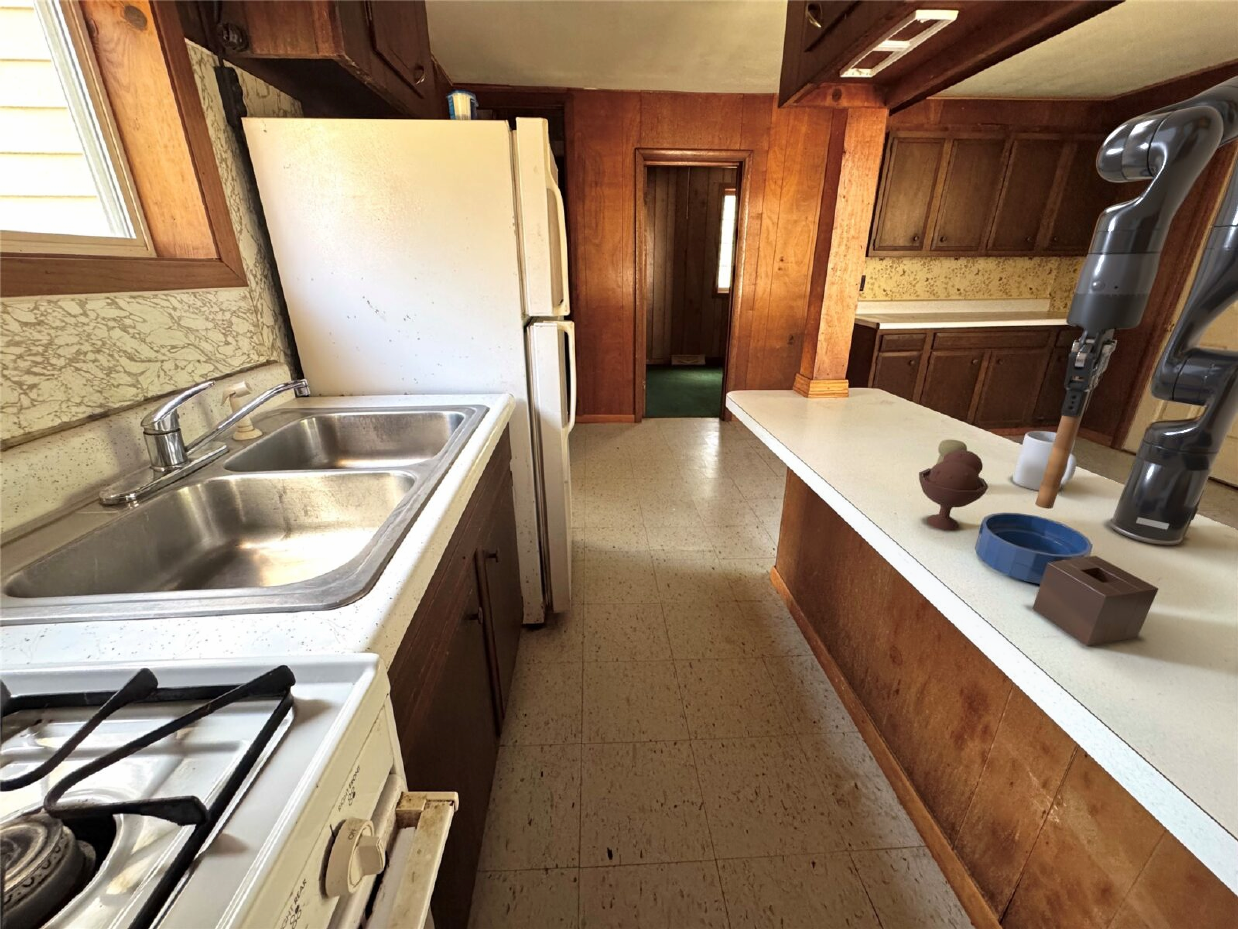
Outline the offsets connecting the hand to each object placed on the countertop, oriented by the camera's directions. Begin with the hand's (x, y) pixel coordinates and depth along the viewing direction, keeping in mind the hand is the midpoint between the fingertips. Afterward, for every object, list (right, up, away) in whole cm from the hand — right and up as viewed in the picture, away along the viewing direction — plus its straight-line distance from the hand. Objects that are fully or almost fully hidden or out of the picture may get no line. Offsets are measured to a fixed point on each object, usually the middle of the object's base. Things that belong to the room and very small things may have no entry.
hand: (1073, 413), depth 75 cm
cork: (+6, -13, +39) cm, 41 cm away
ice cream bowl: (-4, -19, +24) cm, 31 cm away
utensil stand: (-1, -30, -3) cm, 30 cm away
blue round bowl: (+2, -24, +11) cm, 26 cm away
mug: (+26, -13, +37) cm, 48 cm away
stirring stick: (+1, -14, +6) cm, 15 cm away
